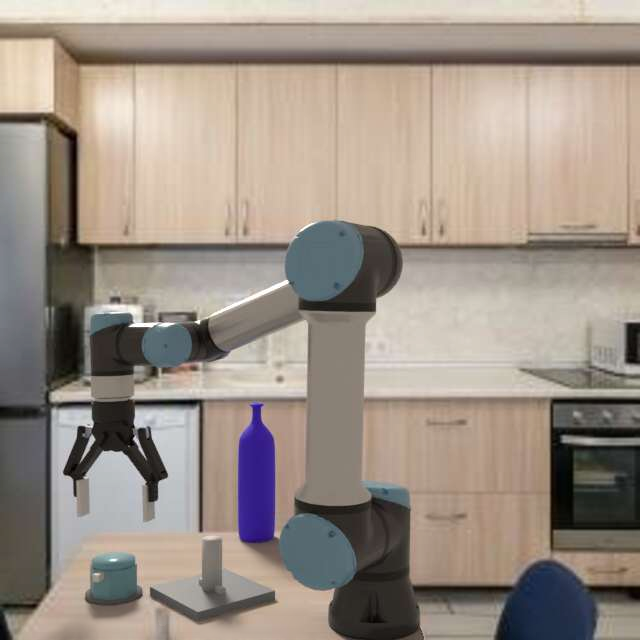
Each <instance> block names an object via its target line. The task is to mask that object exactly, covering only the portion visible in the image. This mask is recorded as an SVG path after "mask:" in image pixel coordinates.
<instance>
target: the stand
mask: <svg viewBox="0 0 640 640" xmlns="http://www.w3.org/2000/svg"><path fill="white" fill-rule="evenodd" d="M149 596H151V597H153V598H155V599H157V600H158V601H160V602H162V603H164V604H166V605H168V606H169V607H172V608H173V609H175V610H176V611H179V612H180V613H182V614H184V615H186V616H187V617H190V618H191V619H193V620H194V621H197V622H199V621H203V620H206V619H210V618H213V617H218V616H220V615H224V614H227V613H231V612H234V611H237V610H241V609H246V608H248V607H251V606H256V605H259V604H262V603H265V602H269V601H273V600H276V590H275V589H272V588H270V587H268V586H266V585H263V584H261V583H259V582H256V581H255V580H252V579H249V578H247V577H245V576H243V575H241V574H239V573H237V572H234V571H231V570H230V569H227V568H223V537H222V536H220V535H207V536H203V537H202V538H201V574H200V573H199V574H195V575H191V576H187V577H183V578H179V579H174V580H172V581H167V582H163V583H160V584H154V585H151V586H149Z"/></svg>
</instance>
